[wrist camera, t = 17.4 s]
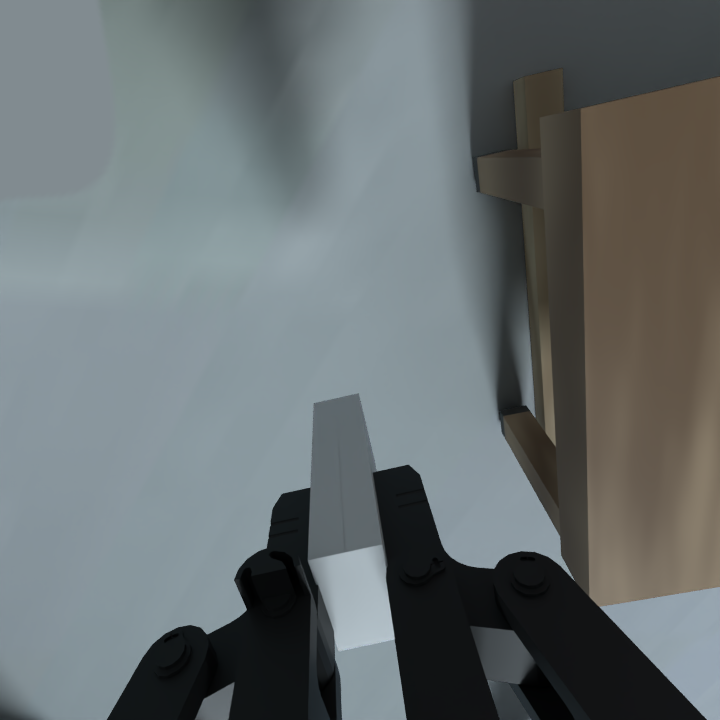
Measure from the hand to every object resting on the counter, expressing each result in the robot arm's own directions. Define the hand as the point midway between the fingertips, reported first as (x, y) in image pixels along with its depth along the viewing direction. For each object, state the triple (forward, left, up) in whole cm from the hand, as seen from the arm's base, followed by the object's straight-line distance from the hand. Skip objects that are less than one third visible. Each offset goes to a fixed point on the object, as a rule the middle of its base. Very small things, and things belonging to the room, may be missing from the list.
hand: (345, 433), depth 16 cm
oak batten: (+10, 0, -8) cm, 13 cm away
